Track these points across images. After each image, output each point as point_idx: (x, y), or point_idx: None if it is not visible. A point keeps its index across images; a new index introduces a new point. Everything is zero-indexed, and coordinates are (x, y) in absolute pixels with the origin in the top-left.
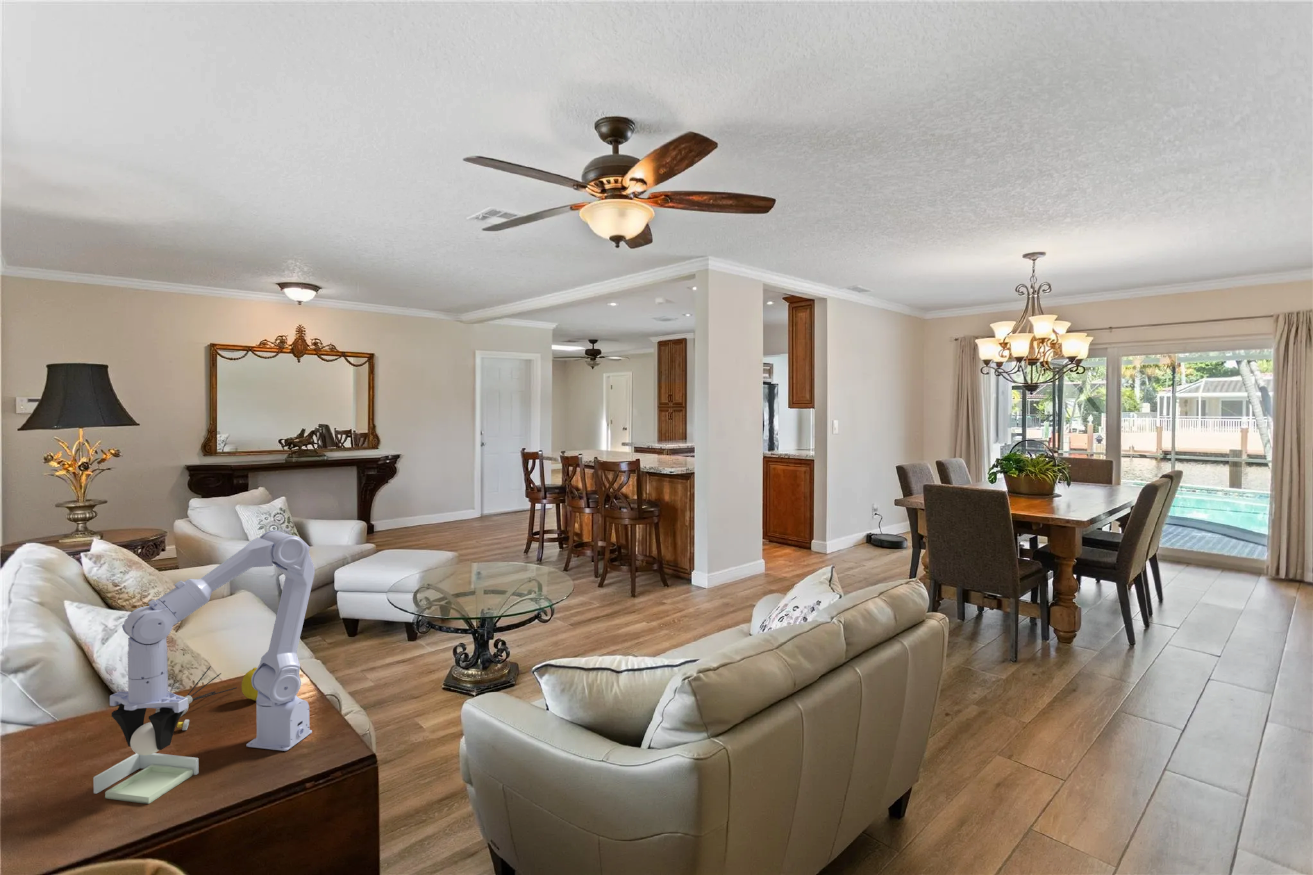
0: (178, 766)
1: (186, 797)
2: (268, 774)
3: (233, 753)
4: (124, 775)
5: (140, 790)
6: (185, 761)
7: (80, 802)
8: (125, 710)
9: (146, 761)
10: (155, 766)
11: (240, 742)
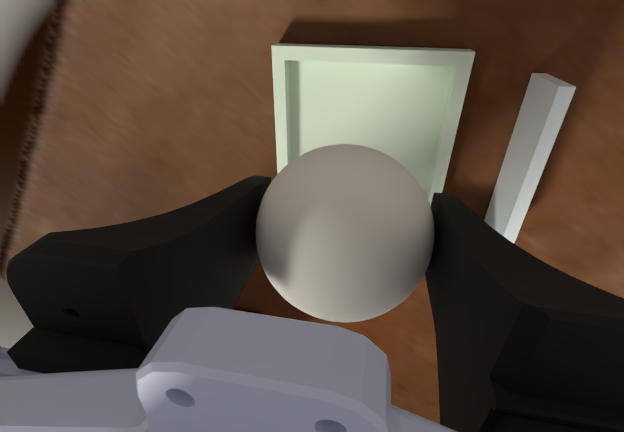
0: None
1: (198, 96)
2: (105, 215)
3: (270, 291)
4: (499, 179)
5: (368, 105)
6: None
7: (559, 4)
8: (542, 391)
9: None
10: None
11: None
